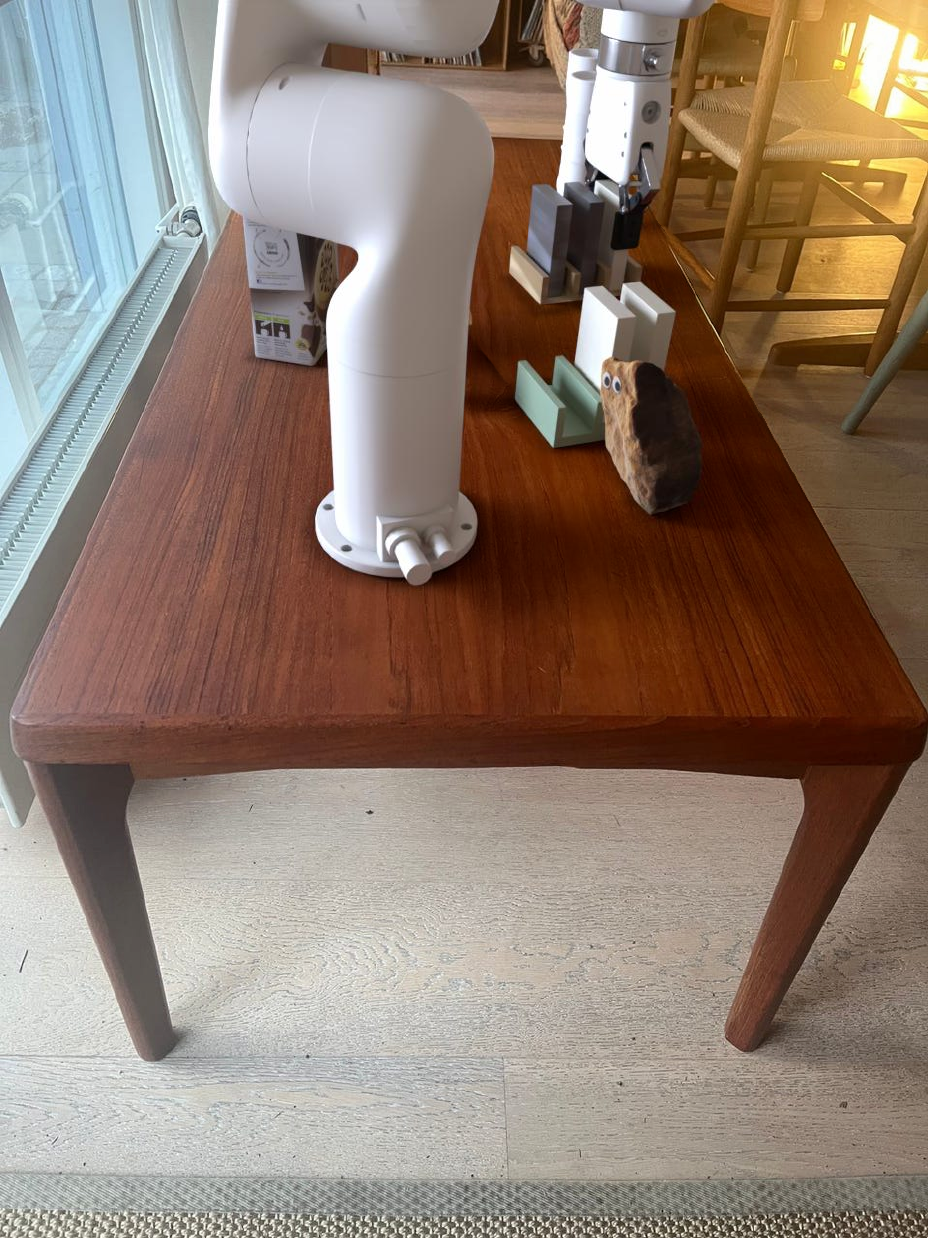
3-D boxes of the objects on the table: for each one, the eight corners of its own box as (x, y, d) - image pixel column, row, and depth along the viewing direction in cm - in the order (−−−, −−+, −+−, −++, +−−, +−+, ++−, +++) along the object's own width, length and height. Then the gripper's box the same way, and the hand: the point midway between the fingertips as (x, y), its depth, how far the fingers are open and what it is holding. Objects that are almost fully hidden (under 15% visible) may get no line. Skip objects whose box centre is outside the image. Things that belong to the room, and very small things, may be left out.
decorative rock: (582, 447, 87) (599, 333, 80) (643, 439, 89) (665, 327, 82) (639, 524, 79) (663, 406, 72) (705, 514, 80) (736, 397, 73)
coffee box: (316, 367, 96) (306, 197, 85) (253, 358, 96) (236, 189, 86) (343, 327, 102) (337, 165, 92) (284, 319, 103) (271, 158, 92)
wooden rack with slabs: (601, 270, 117) (615, 174, 110) (637, 301, 111) (654, 201, 104) (508, 280, 114) (516, 181, 106) (539, 312, 108) (549, 210, 100)
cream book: (597, 267, 115) (609, 178, 109) (622, 289, 111) (637, 198, 104) (583, 268, 115) (595, 179, 108) (608, 291, 110) (622, 200, 104)
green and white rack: (628, 383, 96) (647, 274, 89) (673, 428, 90) (697, 316, 83) (514, 399, 93) (525, 287, 86) (553, 448, 87) (568, 332, 79)
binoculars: (595, 240, 124) (617, 83, 112) (553, 237, 124) (570, 80, 112) (591, 194, 137) (611, 49, 125) (553, 191, 137) (568, 46, 125)
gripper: (713, 77, 93) (676, 262, 105) (628, 35, 105) (604, 206, 117) (643, 80, 91) (614, 269, 102) (565, 37, 102) (547, 211, 114)
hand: (609, 234), depth 109 cm, fingers closed on cream book, 6 cm apart
